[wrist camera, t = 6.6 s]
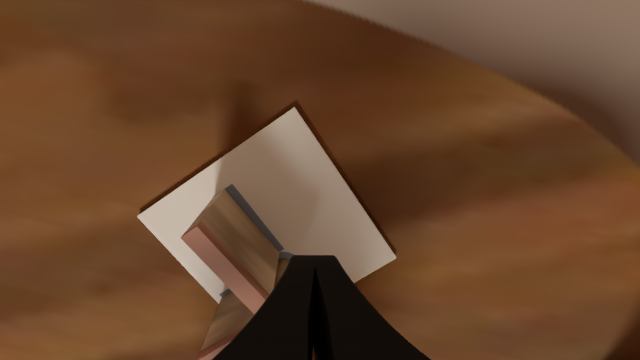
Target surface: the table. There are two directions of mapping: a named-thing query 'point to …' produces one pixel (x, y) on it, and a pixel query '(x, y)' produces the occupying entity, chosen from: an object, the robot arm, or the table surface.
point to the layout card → (276, 204)
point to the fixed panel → (230, 320)
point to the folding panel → (234, 250)
